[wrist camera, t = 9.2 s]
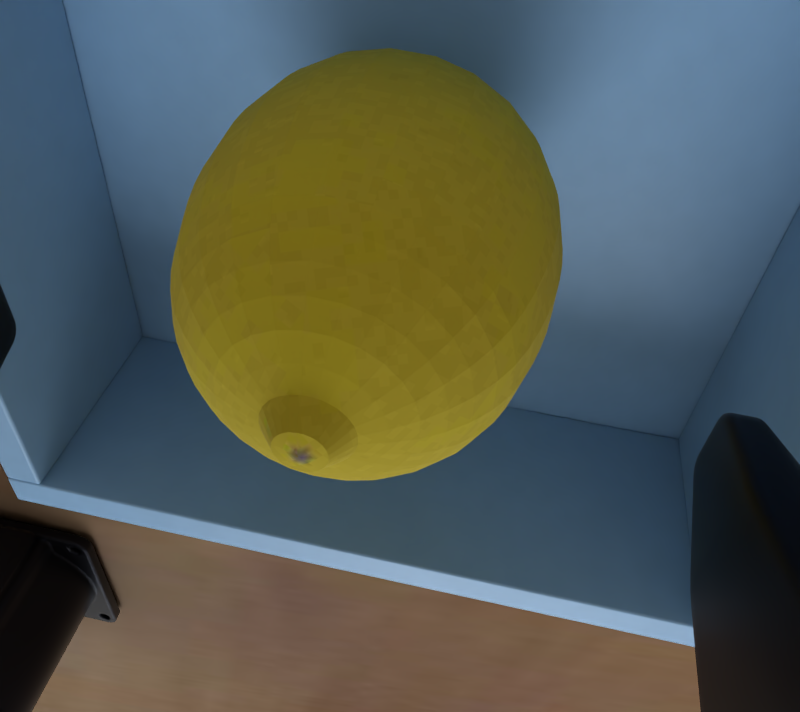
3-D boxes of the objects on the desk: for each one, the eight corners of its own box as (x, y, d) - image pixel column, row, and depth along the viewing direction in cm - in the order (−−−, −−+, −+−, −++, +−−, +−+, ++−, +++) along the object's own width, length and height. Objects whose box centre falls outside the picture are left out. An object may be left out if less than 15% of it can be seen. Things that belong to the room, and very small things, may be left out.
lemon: (471, 296, 16) (400, 633, 11) (246, 172, 15) (32, 470, 9) (636, 91, 13) (667, 437, 7) (353, -92, 12) (110, 136, 6)
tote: (696, 447, 19) (723, 654, 15) (131, 338, 20) (17, 500, 16) (1185, -438, 8) (1763, -552, 4) (-90, -530, 10) (-584, -680, 6)
